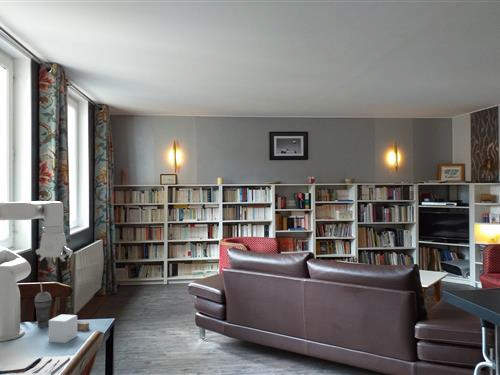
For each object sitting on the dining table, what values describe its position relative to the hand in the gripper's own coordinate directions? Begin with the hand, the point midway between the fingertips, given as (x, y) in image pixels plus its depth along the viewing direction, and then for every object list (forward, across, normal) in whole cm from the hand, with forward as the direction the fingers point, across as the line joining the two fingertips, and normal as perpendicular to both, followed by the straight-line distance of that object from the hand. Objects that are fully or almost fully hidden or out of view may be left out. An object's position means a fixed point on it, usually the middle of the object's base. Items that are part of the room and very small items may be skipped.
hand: (54, 269), depth 164 cm
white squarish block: (+28, +6, -2) cm, 29 cm away
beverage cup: (+28, -14, +10) cm, 33 cm away
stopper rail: (+28, +5, +8) cm, 30 cm away
